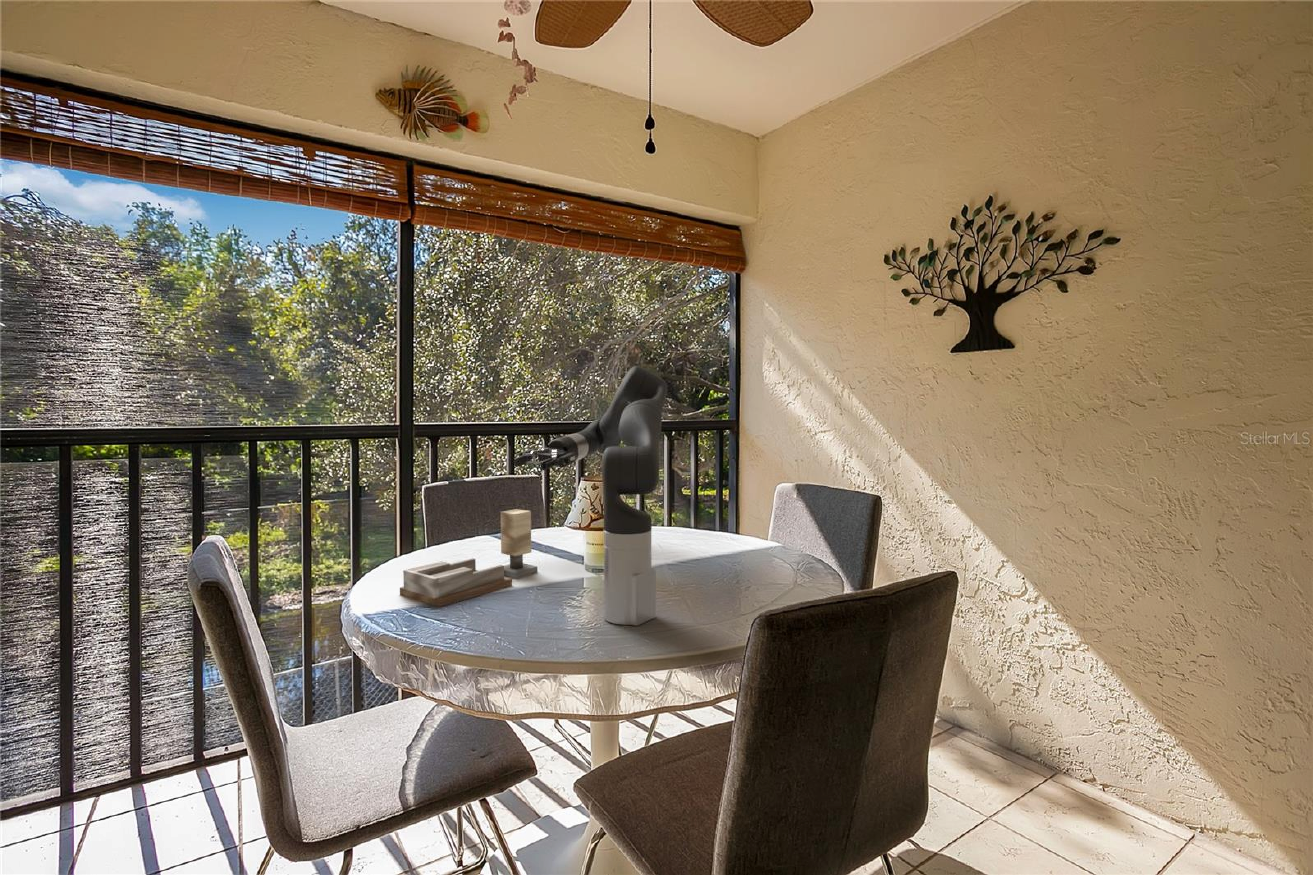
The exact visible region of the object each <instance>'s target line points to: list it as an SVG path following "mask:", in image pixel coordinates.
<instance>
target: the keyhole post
mask: <svg viewBox="0 0 1313 875" xmlns="http://www.w3.org/2000/svg"><path fill="white" fill-rule="evenodd" d="M530 553H532V511H531V510H525V509H520V508H519V509H518V508H515V509H510V510H505V511H500V554H502V555H503V554H504V555H506V556H507V555H508V556H509V564H505V565H503V566H504V577H506V578H510V579H512V580H517V579H520V578H524V577H527V576H530V575H534V574H537V573H538V566H537V565H532V564H527V563H524V561H523V560H524V555H525V554H530Z"/></svg>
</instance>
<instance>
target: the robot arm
mask: <svg viewBox="0 0 1313 875" xmlns="http://www.w3.org/2000/svg"><path fill="white" fill-rule="evenodd" d="M667 392H668V384H667V382H666V381H665V379H663V378H662V377H660V376H658V375H657V374H655V373H654V372H651V371H649V370H647V369H646V368H644V367H642V366H638V365H635V366H633V367H631V368H630V369H629V370H628V371H627V372H626V374H625V375H624V377H623V378H622V380H621V383H620V385H619V386H618V388H617V389H616V392H615V393H614V396H613V398H612V400H611V403H610V405H609V407H608V408H607V410H606V411H605V413H604V414H603V415H602V417H600V418H596V419H595V420H593V421H591V422H590V423H589V424H588V425H587V426H586V428H584V429H583V430H581V431H577V432H574V433H571V434H567V435H564V436H560V437H558V438H555V439H552V440H551V441H549V443H548V444H547V446H546V447H544V448H541V449H537V448H536V447H533V448H530V449H526V450H523V451H520V452H518V456H516V457H515V458H513V466H514V467H515V468H519V467H522V466H523V465H527V464H533V465H540V471H546V470H549V469H550V468H551V469H552V468H554V469H556V468H561V469H562V468H565V467H567V466H569V465H572V464H574V463H576V462H579V461H580V460H582V459H583V458H585V457H588V456H591V455H593V454H595V453H596V452H598V453H600V454H601V455H602V458H601V480H602V496H603V497H602V498H603V618H604V620H605V621H607V623H608V622H609V623H612V624H615V625H624V626H625V625H631V626H635V627H636V626H640V625H642V624H644V623H647V622H648V621H651V620H652V619H655V618H657V617H656V616H657V615H656V614H657V607H656V606H657V602H656V600H657V596H656V595H657V590H656V589H657V588H656V587H657V578H656V577H657V574H656V573H657V571H656V569H655V568H653V567H652V523H653V522H652V517H651V515H650V514H649V512H648V513H647V512H646V511H644V510H640V509H638V508H635V507H633V506H631V505H630V504H628V503H627V502H625V501H624V500H623V499H622V497H621V495H630V496H631V495H640V496H641V495H648V494H651V493H654V491H655V490H656V488H657V486H658V484H659V483H658V482H659V478H660V451H659V450H660V449H659V448H660V440H661V434H662V427H663V424H662V423H663V419H662V418H663V408H664V406H665V400H666V397H667ZM621 442H622V443H623V444H624V445H621ZM620 445H621V446H620ZM536 459H538V460H536Z"/></svg>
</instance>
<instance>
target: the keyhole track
mask: <svg viewBox="0 0 1313 875" xmlns="http://www.w3.org/2000/svg"><path fill="white" fill-rule="evenodd" d="M476 563H477V562H476V558H473V557H472V558H469V559H465V560H461V561H456V562H452V563H450V562H446V561H437V562H433V563H428V564H424V565H421V566H417V567H411V568H407V569H404V570H403V571H402V572H403V575H402V576H403V586H401V587H399V595H400V596H403V597H407V598H410V599H413V600H416V601H420V602H422V603H426V604H429V605H432V606H435V607H437V608H442V607H445V606H447V605H452V604H454V603H457V602H462V601H465V600H469V599H471V598H475V597H478V596H481V595H484V594H488V593H492V592H494V591H498V590H501V589H505V588H508V587H512V586H513V578H509V577H505V576H504V566H505V565H504V564H499V565H496V566H492V567H491V566H490V567H489V568H484V569H480V570H477V569H476V565H477V564H476Z"/></svg>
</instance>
